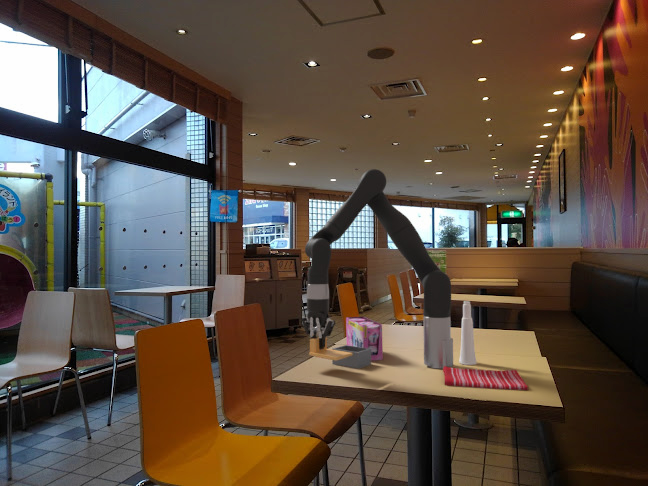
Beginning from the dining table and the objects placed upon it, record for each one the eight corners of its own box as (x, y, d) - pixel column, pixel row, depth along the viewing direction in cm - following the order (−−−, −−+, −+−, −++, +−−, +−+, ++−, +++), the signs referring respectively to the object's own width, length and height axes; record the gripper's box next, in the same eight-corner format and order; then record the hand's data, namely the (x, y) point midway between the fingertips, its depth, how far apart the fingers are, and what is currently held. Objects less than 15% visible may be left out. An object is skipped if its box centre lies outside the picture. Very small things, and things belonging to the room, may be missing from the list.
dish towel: (442, 373, 153) (442, 365, 153) (519, 377, 147) (518, 368, 147) (443, 387, 137) (442, 378, 137) (528, 392, 131) (528, 383, 131)
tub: (371, 365, 161) (370, 348, 162) (358, 370, 155) (358, 352, 155) (345, 361, 168) (345, 345, 168) (332, 365, 162) (332, 348, 162)
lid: (352, 357, 152) (352, 340, 152) (336, 362, 146) (336, 344, 146) (323, 352, 160) (323, 336, 160) (307, 356, 153) (307, 339, 153)
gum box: (384, 362, 167) (384, 324, 167) (364, 363, 165) (363, 325, 165) (364, 349, 190) (364, 316, 190) (345, 350, 188) (345, 317, 189)
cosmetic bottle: (478, 362, 165) (477, 301, 166) (473, 365, 160) (472, 302, 161) (462, 360, 169) (461, 300, 169) (456, 363, 164) (455, 301, 164)
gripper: (341, 297, 155) (341, 349, 154) (309, 295, 164) (309, 344, 163) (327, 299, 149) (327, 352, 149) (295, 296, 158) (295, 347, 157)
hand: (318, 348), depth 156 cm, fingers closed on lid, 2 cm apart
